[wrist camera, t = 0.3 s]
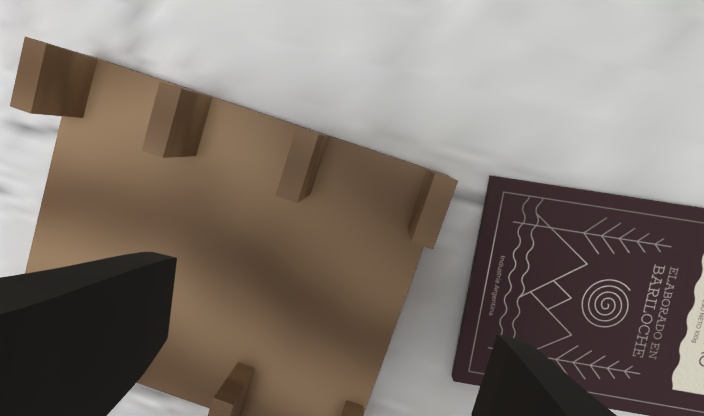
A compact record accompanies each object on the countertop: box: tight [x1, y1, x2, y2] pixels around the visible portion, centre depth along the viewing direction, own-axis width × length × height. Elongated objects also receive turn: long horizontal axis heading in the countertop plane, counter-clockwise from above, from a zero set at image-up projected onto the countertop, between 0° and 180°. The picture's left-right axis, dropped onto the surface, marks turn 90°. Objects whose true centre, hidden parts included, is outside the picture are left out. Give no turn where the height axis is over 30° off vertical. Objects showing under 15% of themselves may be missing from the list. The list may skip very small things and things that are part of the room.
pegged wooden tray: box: [10, 37, 458, 416], centre depth 20 cm, size 13×16×4 cm
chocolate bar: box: [452, 176, 704, 416], centre depth 20 cm, size 9×1×18 cm
